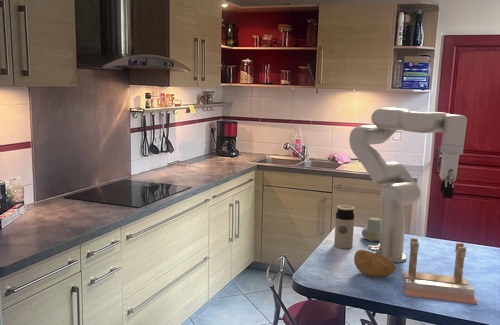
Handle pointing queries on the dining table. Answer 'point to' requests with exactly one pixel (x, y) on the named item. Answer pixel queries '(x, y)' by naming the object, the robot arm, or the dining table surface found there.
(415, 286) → the steel bar
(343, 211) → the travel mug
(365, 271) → the potato
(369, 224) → the air freshener
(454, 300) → the terracotta mat
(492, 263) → the dining table surface
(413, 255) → the hook stand
